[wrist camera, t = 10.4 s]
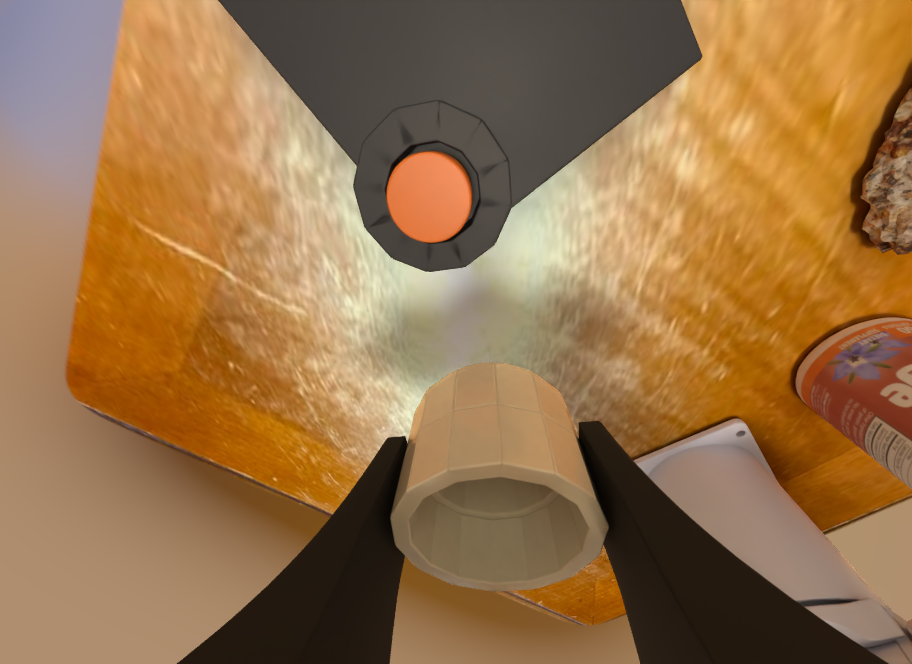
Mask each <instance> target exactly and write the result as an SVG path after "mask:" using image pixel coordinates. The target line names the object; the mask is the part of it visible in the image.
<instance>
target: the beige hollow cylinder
mask: <svg viewBox="0 0 912 664" xmlns="http://www.w3.org/2000/svg"><path fill="white" fill-rule="evenodd" d="M390 520H391V525H392V531H393V536H394V542H395V545H396V547H397V548H398V549H399V550H400V551H401V552H402V553H403V554H404V555H405V556H406V557H407V558H408V559H409V560H410V561H411V562H412V563H413V564H414V566H415V567H416V568H418V569H420V570H421V571H423V572H426V573H428V574H430V575H432V576H434V577H437V578H439V579H441V580H443V581H445V582H447V583H450V584H453V585H457V586H463V587H469V588H474V589H480V590H486V591H494V592H495V591H512V590H530V589H537V588H540V587H543V586H546V585H550V584H553V583H556V582H559V581H562V580H565V579H568V578H571V576H574V575H576V574H577V573H578V572H579V571H581V570H582V569H583V568H585V567H586V566H587V565H588V564H590V563H591V562H592V561H594V560H595V559H596V558H597V557H598V556H599V555H600V553H601V550H602V547H603V544H604V541H605V538H606V535H607V532H608V529H609V527H608V526H609V524H608V521H607V518H606V516H605V513H604V510H603V507H602V504H601V501H600V498H599V495H598V492H597V490H596V487H595V484H594V481H593V478H592V475H591V472H590V469H589V467H588V464H587V461H586V458H585V455H584V452H583V449H582V447H581V444H580V441H579V438H578V435H577V432H576V429H575V426H574V423H573V420H572V417H571V415H570V413H569V410H568V408H567V406H566V404H565V401H564V399H563V397H562V395H561V393H560V392H559V390H557V389H556V388H554V387H553V386H552V385H550V384H549V383H548V382H546V381H545V380H543V379H542V378H541V377H539V376H538V375H536V374H535V373H534V372H531V371H529V370H526V369H524V368H521V367H518V366H515V365H511V364H505V363H495V362H489V363H478V364H472V365H469V366H465V367H462V368H460V369H457V370H455V371H453V372H451V373H450V374H448V375H447V376H445V377H444V378H442V379H441V380H440V381H439V382H437V383H435V384H434V385H432V386H431V387H429V389H428V390H427V391H426V393H425V395H424V396H423V398H422V400H421V402H420V404H419V406H418V408H417V409H416V411H415V414H414V418H413V423H412V427H411V431H410V435H409V440H408V444H407V448H406V452H405V457H404V461H403V465H402V469H401V473H400V478H399V482H398V486H397V490H396V495H395V499H394V503H393V507H392V512H391V516H390Z"/></svg>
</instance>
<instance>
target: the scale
mask: <svg viewBox="0 0 912 664" xmlns="http://www.w3.org/2000/svg"><path fill="white" fill-rule="evenodd" d="M218 1H219V2H220V3H221V4H222V5H223V7H224V8H225V9H226V10H227V11H228V13H229V14H230V15H231V16H232V17H233V19H234V20H235V21H236V22H237V23H238V25H239V26H240V27H241V28H242V29H243V31H244V32H245V33H246V34H247V35H248V36H249V38H250V39H251V40H252V41H253V42H254V44H255V45H256V46H257V47H258V48H259V50H260V51H261V52H262V53H263V54H264V56H265V57H266V58H267V59H268V60H269V62H270V63H271V64H272V65H273V66H274V68H275V69H276V70H277V71H278V72H279V74H280V75H281V76H282V77H283V78H284V79H285V81H286V82H287V83H288V84H289V85H290V87H291V88H292V89H293V90H294V91H295V93H296V94H297V95H298V96H299V97H300V99H301V100H302V101H303V102H304V103H305V105H306V106H307V107H308V108H309V109H310V111H311V112H312V113H313V114H314V115H315V116H316V118H317V119H318V120H319V121H320V122H321V124H322V125H323V126H324V127H325V128H326V130H327V131H328V132H329V133H330V134H331V136H332V137H333V138H334V139H335V140H336V142H337V143H338V144H339V145H340V146H341V148H342V149H343V150H344V151H345V152H346V154H347V155H348V156H349V157H350V158H351V159H352V161H353V162H354V163H355V164H356V165H357V170H356V175H355V179H354V184H353V185H354V187H353V188H354V191H355V195H356V199H357V202H358V206H359V209H360V213H361V217H362V220H363V224H364V227H365V228H366V230H367V231H368V232H369V233H370V234H371V236H372V237H373V238H374V239H375V240H376V241H377V242H378V243H379V244H380V246H381V247H382V248H383V249H384V250H385V251H386V252H387V253H388V255H389V256H390V257H391V258H393V259H395V260H397V261H400V262H402V263H405V264H408V265H410V266H413V267H415V268H418V269H421V270H423V271H426V272H427V271H428V272H433V271H440V270H448V269H456V268H463V267H466V266H467V265H469V264H470V263H471V262H472V261H474V260H475V259H476V258H478V257H479V256H480V255H482V254H483V253H484V252H486V251H487V250H488V249H490V248H491V247H492V246H494V245H495V243H496V241H497V239H498V237H499V235H500V232H501V230H502V228H503V226H504V223H505V221H506V219H507V217H508V214H509V212H510V210H511V208H512V207H513V206H515V205H516V204H517V203H519V202H520V201H521V200H522V199H524V198H525V197H526V196H528V195H529V194H530V193H531V192H533V191H534V190H535V189H536V188H538V187H539V186H540V185H542V184H543V183H544V182H545V181H547V180H548V179H549V178H550V177H552V176H553V175H554V174H556V173H557V172H558V171H559V170H561V169H562V168H563V167H564V166H566V165H567V164H568V163H570V162H571V161H572V160H573V159H575V158H576V157H577V156H578V155H580V154H581V153H582V152H584V151H585V150H586V149H587V148H589V147H590V146H591V145H592V144H594V143H595V142H596V141H598V140H599V139H600V138H601V137H603V136H604V135H605V134H606V133H608V132H609V131H610V130H612V129H613V128H614V127H615V126H617V125H618V124H619V123H621V122H622V121H623V120H624V119H626V118H627V117H628V116H629V115H631V114H632V113H633V112H635V111H636V110H637V109H638V108H640V107H641V106H642V105H643V104H645V103H646V102H647V101H649V100H650V99H651V98H652V97H654V96H655V95H656V94H657V93H659V92H660V91H661V90H663V89H664V88H665V87H666V86H668V85H669V84H670V83H671V82H673V81H674V80H675V79H677V78H678V77H679V76H680V75H682V74H683V73H684V72H685V71H687V70H688V69H689V68H691V67H692V66H693V65H694V64H696V63H697V62H698V61H700V60H701V58H702V54H701V51H700V49H699V46H698V43H697V41H696V38H695V36H694V33H693V30H692V28H691V25H690V23H689V20H688V18H687V15H686V12H685V10H684V7H683V5H682V2H681V0H218ZM425 151H438V152H443V153H445V154H448V155H450V156H452V157H453V158H455V159H456V160H457V161H458V162H459V163H460V164H461V165H462V166H463V167H464V169H465V170H466V172H467V174H468V176H469V178H470V182H471V186H472V205H471V210H470V214H469V217H468V219H467V221H466V223H465V224H464V226H463V227H462V228H461V230H460V231H459V232H458V233H457V234H455V235H454V236H452V237H451V238H449V239H447V240H444V241H442V242H437V243H426V242H421V241H417V240H415V239H413V238H411V237H409V236H408V235H406V234H405V233H404V232H402V231H401V230H400V229H399V227H398V226H397V225H396V224H395V222H394V220H393V219H392V217H391V215H390V212H389V209H388V205H387V196H386V194H387V185H388V181H389V178H390V176H391V174H392V172H393V170H394V169H395V167H396V166H397V165H398V164H399V163H400V162H401V161H402V160H403V159H405V158H406V157H408V156H410V155H412V154H414V153H418V152H425Z"/></svg>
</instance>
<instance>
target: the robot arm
mask: <svg viewBox="0 0 912 664" xmlns="http://www.w3.org/2000/svg"><path fill="white" fill-rule="evenodd" d="M579 441H580V444H581V447H582V449H583V452H584V455H585V458H586V461H587V464H588V467H589V469H590V472H591V475H592V478H593V481H594V484H595V487H596V490H597V492H598V495H599V498H600V501H601V504H602V507H603V510H604V513H605V516H606V518H607V521H608V524H609V526H608V527H609V529H608V532H607V535H606V538H605V541H604V547H605V549H606V552H607V555H608V557H609V560H610V563H611V565H612V568H613V571H614V573H615V576H616V579H617V582H618V585H619V588H620V592H621V595H622V599H623V602H624V606H625V609H626V613H627V616H628V620H629V623H630V627H631V630H632V634H633V638H634V642H635V645H636V649H637V653H638V656H639V660H640V664H912V620H909V621H906V620H904V619H903V618H901V617H900V616H898V615H897V614H895V613H894V612H893V611H892V610H891V609H890V608H889V607H888V606H887V605H886V604H885V602H884V601H883V600H882V599H881V598H880V597H879V596H878V595H877V593H876V592H875V591H874V590H873V589H872V588H871V587H870V586H869V585H868V583H867V582H866V581H865V580H864V579H863V578H862V577H861V576H860V574H859V573H858V572H857V571H856V570H855V569H854V568H853V566H852V565H851V564H850V563H849V562H848V561H847V560H846V559H845V557H844V556H843V555H842V554H841V553H840V552H839V551H838V550H837V549H836V547H835V546H834V545H833V544H832V543H831V542H830V541H829V540H828V538H827V537H826V536H825V535H824V534H823V533H822V532H821V531H820V529H819V528H818V527H817V526H816V525H815V524H814V523H813V522H812V520H811V519H810V518H809V517H808V516H807V515H806V514H805V513H804V511H803V510H802V509H801V508H800V507H799V506H798V505H797V504H796V502H795V501H794V500H793V499H792V498H791V497H790V496H789V495H788V493H787V492H786V491H785V490H784V489H783V488H782V487H781V486H780V484H779V483H778V481H777V480H776V478H775V476H774V474H773V472H772V470H771V469H770V467H769V465H768V463H767V461H766V460H765V458H764V456H763V454H762V452H761V450H760V449H759V447H758V445H757V443H756V441H755V439H754V438H753V436H752V434H751V432H750V430H749V429H748V427H747V425H746V424H745V423H744V422H743V421H742V420H741V419H732V420H729V421H727V422H724V423H722V424H719V425H717V426H715V427H712V428H710V429H707V430H705V431H703V432H700V433H698V434H695V435H693V436H691V437H688V438H686V439H683V440H681V441H679V442H676V443H674V444H671V445H669V446H667V447H664V448H662V449H659V450H657V451H655V452H652V453H650V454H647V455H645V456H643V457H640V458H638V459H635V460H632V459H631V458H630V456H629V455H628V454H627V453H626V452H625V451H624V450H623V448H622V447H621V446H620V445H619V444H618V443H617V441H616V440H615V439H614V438H613V437H612V435H611V434H610V433H609V432H608V431H607V429H606V428H605V427H604V425H603V424H602V423H601V422H599V421H590V422H579ZM406 448H407V441H406V438H405V436H402V437H390V438H387V440H386V441H385V442H384V444H383V445H382V447H381V448H380V450H379V451H378V453H377V454H376V456H375V457H374V459H373V460H372V462H371V463H370V465H369V466H368V468H367V469H366V471H365V472H364V473H363V475H362V476H361V478H360V479H359V480H358V482H357V483H356V485H355V486H354V487H353V489H352V490H351V492H350V493H349V494H348V496H347V497H346V498H345V500H344V501H343V502H342V503H341V505H340V506H339V507H338V509H337V510H336V511H335V512H334V514H333V515H332V516H331V517H330V519H329V520H328V521H327V523H326V524H325V525H324V526H323V527H322V528H321V530H320V531H319V532H318V533H317V534H316V536H315V537H314V538H313V539H312V540H311V541H310V542H309V543H308V545H307V546H306V547H305V548H304V549H303V550H302V551H301V552H300V553H299V554H298V555H297V557H295V559H293V561H292V562H291V563H290V564H289V565H288V566H287V567H286V568H285V569H284V570H283V571H282V572H281V573H280V574H279V575H278V576H277V577H276V578H275V579H274V580H273V581H272V582H271V583H270V584H269V585H268V586H267V587H266V588H265V589H264V590H262V591H261V592H260V593H259V594H258V595H257V596H256V597H255V598H254V599H253V600H252V601H251V602H249V603H248V604H247V605H246V606H245V607H244V608H243V609H242V610H241V611H240V612H239V613H237V614H236V615H235V616H234V617H233V618H232V619H231V620H229V621H228V622H227V623H226V624H225V625H224V626H222V627H221V628H220V629H219V630H218V631H217V632H215V633H214V634H213V635H212V636H210V637H209V638H208V639H207V640H205V641H204V642H203V643H202V644H201V645H200V646H198V647H197V648H196V649H194V650H193V651H192V652H191V653H190V654H188V655H187V656H186V657H185V658H183V659H182V660H181V661H180V662H178V663H177V664H389V663H390V654H391V645H392V635H393V627H394V618H395V610H396V602H397V595H398V589H399V583H400V577H401V572H402V568H403V563H404V558H405V555H404V554H403V553H402V552H401V551H400V550H399V549H398V548H397V547H396V545H395V542H394V536H393V531H392V525H391V520H390V516H391V512H392V507H393V503H394V499H395V495H396V490H397V486H398V482H399V478H400V473H401V469H402V465H403V461H404V457H405V452H406Z"/></svg>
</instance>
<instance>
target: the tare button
mask: <svg viewBox="0 0 912 664" xmlns="http://www.w3.org/2000/svg"><path fill="white" fill-rule="evenodd" d="M386 196H387V205H388V209H389V212H390V215H391V217H392V219H393V220H394V222H395V224H396V225H397V226H398V227H399V229H400V230H401V231H402V232H404V233H405V234H406V235H408V236H409V237H411V238H413V239H415V240H417V241H421V242H426V243H437V242H442V241H444V240H447V239H449V238H451V237H452V236H454V235H455V234H457V233H458V232H459V231H460V230H461V228H462V227H463V226H464V224H465V223H466V221H467V219H468V217H469V214H470V210H471V205H472V186H471V182H470V178H469V176H468V174H467V172H466V170H465V169H464V167H463V166H462V165H461V164H460V163H459V162H458V161H457V160H456V159H455V158H453V157H452V156H450V155H448V154H445V153H443V152H438V151H425V152H418V153H414V154H412V155H410V156H408V157H406V158H405V159H403V160H402V161H401V162H400V163H399V164H398V165H397V166H396V167H395V169H394V170H393V172H392V174H391V176H390V178H389V181H388V185H387V194H386Z"/></svg>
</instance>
